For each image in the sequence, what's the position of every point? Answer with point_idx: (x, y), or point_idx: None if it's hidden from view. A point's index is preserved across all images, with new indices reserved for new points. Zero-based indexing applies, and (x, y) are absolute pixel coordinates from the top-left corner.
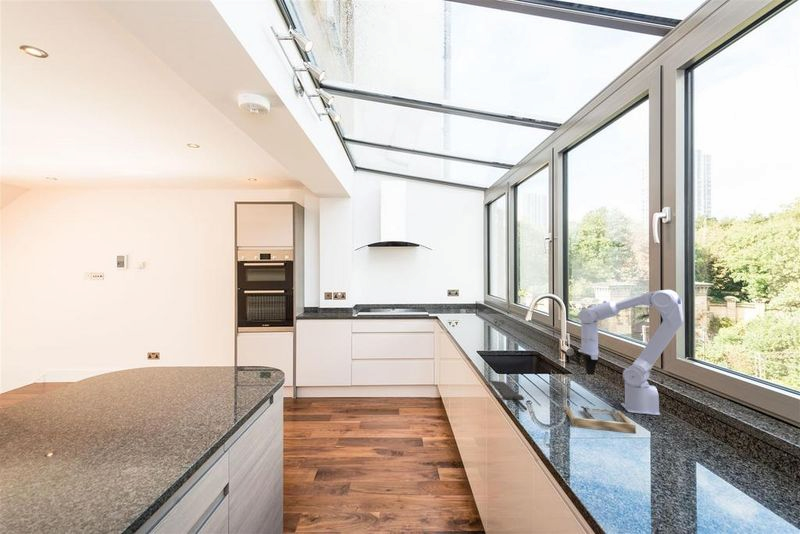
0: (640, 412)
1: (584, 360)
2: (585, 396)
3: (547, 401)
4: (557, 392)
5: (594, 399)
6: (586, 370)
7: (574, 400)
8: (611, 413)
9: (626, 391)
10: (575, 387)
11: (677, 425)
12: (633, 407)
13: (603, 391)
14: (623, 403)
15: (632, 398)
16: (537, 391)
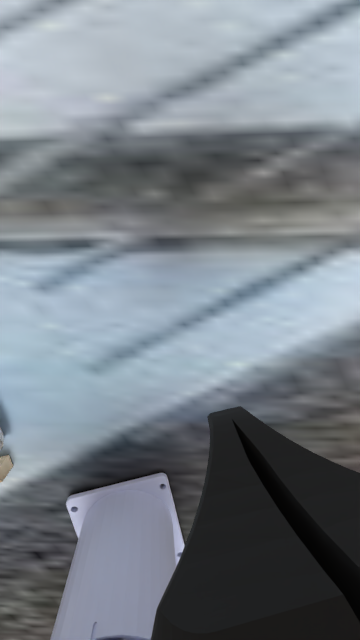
0: (77, 536)
1: (229, 540)
2: (217, 330)
3: (12, 123)
4: (222, 181)
5: (187, 369)
6: (227, 424)
7: (120, 278)
8: (2, 438)
9: (88, 584)
10: (355, 279)
11: (23, 620)
12: (81, 529)
13: (334, 406)
14: (165, 484)
15: (70, 574)
16: (186, 45)
